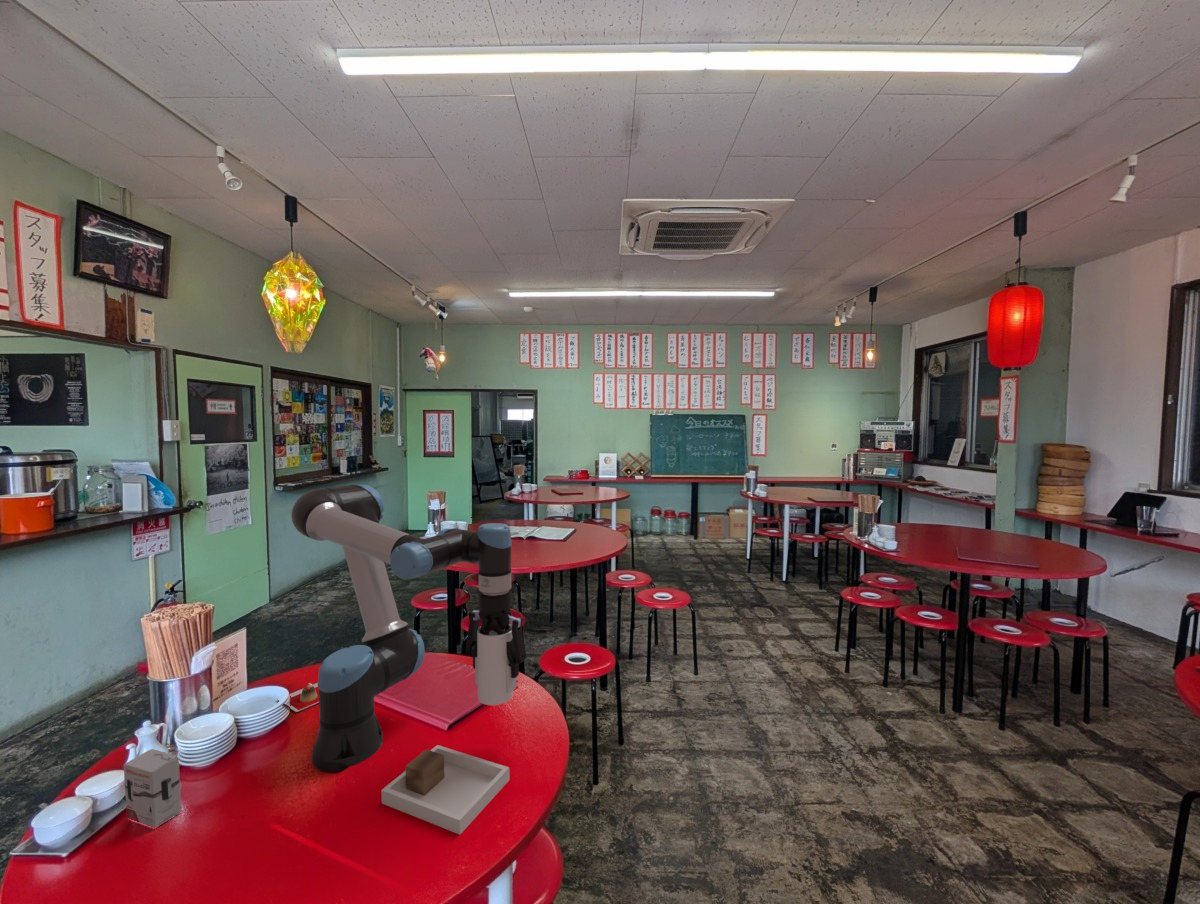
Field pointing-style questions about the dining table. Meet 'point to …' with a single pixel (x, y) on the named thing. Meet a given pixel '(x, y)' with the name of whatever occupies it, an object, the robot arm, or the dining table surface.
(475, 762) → the tray
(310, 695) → the dessert
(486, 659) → the cup
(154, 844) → the dining table surface
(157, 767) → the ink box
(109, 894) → the dining table surface
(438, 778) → the walnut block
